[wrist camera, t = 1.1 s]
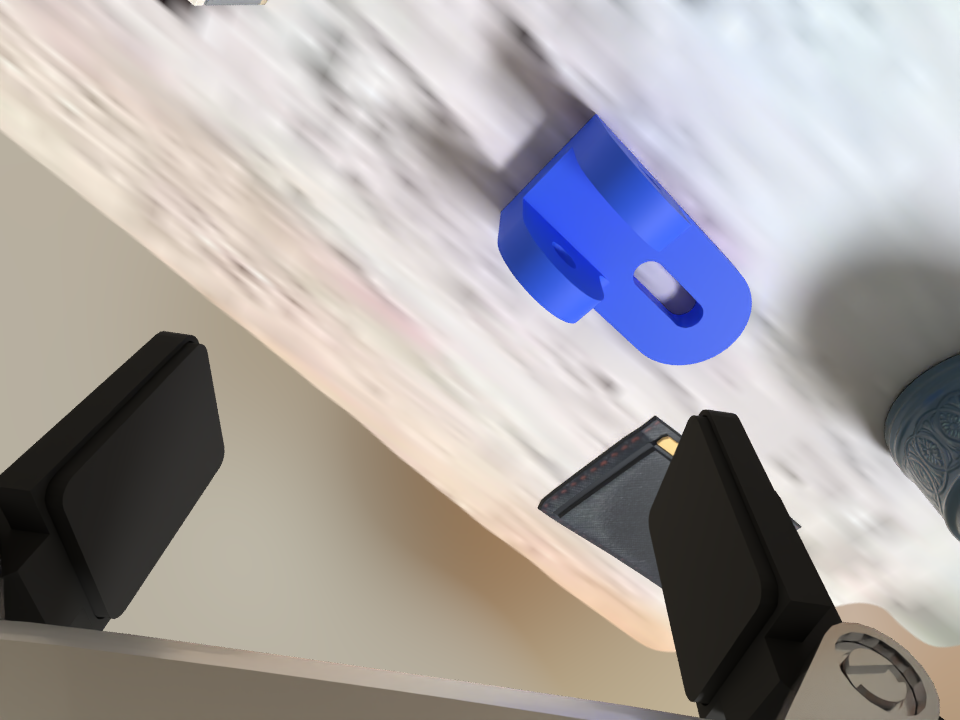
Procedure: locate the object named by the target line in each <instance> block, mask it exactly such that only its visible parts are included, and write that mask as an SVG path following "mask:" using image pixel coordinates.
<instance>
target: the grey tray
mask: <svg viewBox="0 0 960 720" xmlns="http://www.w3.org/2000/svg"><path fill="white" fill-rule="evenodd" d="M266 2H267V0H205V2H204V4H205V5H265V4H266Z"/></svg>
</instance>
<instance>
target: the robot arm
mask: <svg viewBox="0 0 960 720" xmlns="http://www.w3.org/2000/svg"><path fill="white" fill-rule="evenodd" d="M223 458H224V443H223V437H222V432H221V427H220V421H219V415H218V409H217V403H216V398H215V393H214V386H213V381H212V375H211V370H210V364H209V358H208V353H207V349H206V347H205V346H204V345H202V344H199V342H198V340H197V338H196V337H195V336H193V335H187V334H180V333H173V332H166V331H163V332H159V333H158V334H156V335H155V336H154V337H153V338H152V339H151V340H150V341H149V342H147V343H146V344H145V345H144V346H143V347H142V348H141V349H140V350H138V351H137V352H136V353H135V354H134V355H133V356H132V357H131V358H130V359H128V360H127V361H126V362H125V363H124V364H123V365H122V366H121V367H120V368H118V369H117V370H116V371H115V372H114V373H113V374H112V375H111V376H110V377H109V378H107V379H106V380H105V381H104V382H103V383H102V384H101V385H100V386H98V387H97V388H96V389H95V390H94V391H93V392H92V393H91V394H90V395H89V396H87V397H86V398H85V399H84V400H83V401H82V402H81V403H80V404H78V405H77V406H76V407H75V408H74V409H73V410H72V411H71V412H70V413H69V414H68V415H66V416H65V417H64V418H63V419H62V420H61V421H60V422H58V423H57V424H56V425H55V426H54V427H53V428H52V429H51V430H50V431H48V432H47V433H46V434H45V435H44V436H43V437H42V438H41V439H40V440H38V441H37V442H36V443H35V444H34V445H33V446H32V447H31V448H30V449H28V450H27V451H26V452H25V453H24V454H23V455H22V456H21V457H20V458H18V459H17V460H16V461H15V462H14V463H13V464H12V465H11V466H10V467H9V468H7V469H6V470H5V471H4V472H3V473H2V474H1V475H0V720H944V719H943V718H941V717H940V716H939V713H940V709H939V707H940V704H939V697H938V694H937V692H936V689H935V686H934V684H933V682H932V680H931V679H930V677H929V676H928V674H927V673H926V671H925V670H924V668H923V667H922V665H920V663H918V661H917V660H916V659H915V658H914V657H913V656H912V655H911V654H910V653H909V652H908V651H907V650H906V649H905V648H903V647H902V646H901V645H899V644H898V643H897V642H896V641H894V640H893V639H892V638H890V637H888V636H886V635H885V634H883V633H881V632H879V631H877V630H876V629H874V628H871V627H868V626H864V625H861V624H858V623H846V622H843V623H842V621H841V619H840V617H839V615H838V613H837V611H836V609H835V607H834V605H833V603H832V601H831V599H830V597H829V595H828V592H827V590H826V588H825V586H824V584H823V582H822V580H821V578H820V576H819V574H818V572H817V570H816V568H815V566H814V564H813V562H812V560H811V558H810V556H809V554H808V552H807V550H806V548H805V546H804V544H803V542H802V540H801V538H800V536H799V534H798V532H797V530H796V528H795V526H794V524H793V522H792V520H791V518H790V516H789V514H788V512H787V510H786V508H785V506H784V504H783V502H782V500H781V498H780V497H779V495H778V494H777V492H776V491H774V489H773V486H772V484H771V482H770V480H769V478H768V476H767V474H766V472H765V470H764V468H763V466H762V464H761V462H760V460H759V458H758V456H757V454H756V452H755V450H754V448H753V446H752V444H751V442H750V440H749V438H748V436H747V434H746V432H745V430H744V428H743V426H742V424H741V422H740V420H739V418H738V416H737V415H736V414H733V413H727V412H720V411H713V410H702V411H701V412H700V414H699V416H695V415H693V416H691V417H690V418H689V420H688V422H687V424H686V427H685V429H684V432H683V434H682V436H681V439H680V441H679V443H678V446H677V448H676V450H675V453H674V455H673V457H672V460H671V462H670V464H669V467H668V469H667V472H666V474H665V476H664V479H663V481H662V483H661V486H660V488H659V490H658V493H657V495H656V497H655V500H654V502H653V504H652V507H651V509H650V513H649V520H648V523H649V531H650V536H651V540H652V545H653V549H654V554H655V558H656V563H657V567H658V572H659V576H660V581H661V585H662V590H663V594H664V599H665V603H666V608H667V612H668V617H669V621H670V626H671V631H672V635H673V640H674V644H675V649H676V653H677V657H678V662H679V667H680V671H681V676H682V680H683V685H684V688H685V693H686V695H687V697H688V699H689V700H690V701H691V702H696V704H697V708H698V712H699V716H700V718H698V717H692V716H686V715H680V714H674V713H668V712H662V711H656V710H650V709H643V708H637V707H632V706H625V705H619V704H613V703H606V702H600V701H593V700H585V699H579V698H573V697H566V696H559V695H552V694H545V693H538V692H532V691H525V690H519V689H512V688H505V687H498V686H492V685H485V684H478V683H472V682H464V681H458V680H451V679H444V678H437V677H430V676H423V675H416V674H409V673H402V672H395V671H388V670H381V669H375V668H367V667H360V666H353V665H346V664H339V663H332V662H325V661H318V660H311V659H304V658H297V657H290V656H283V655H276V654H269V653H262V652H254V651H247V650H240V649H232V648H225V647H218V646H210V645H203V644H196V643H189V642H182V641H174V640H167V639H160V638H153V637H145V636H138V635H131V634H123V633H115V632H106V631H103V629H104V628H105V626H106V625H107V623H108V622H109V620H110V619H111V618H112V619H115V618H118V617H119V616H120V615H121V614H122V613H123V612H124V611H125V610H126V608H127V606H128V605H129V604H130V602H131V601H132V599H133V598H134V596H135V595H136V593H137V591H138V590H139V588H140V587H141V586H142V584H143V583H144V581H145V579H146V578H147V576H148V574H149V573H150V572H151V570H152V569H153V567H154V566H155V564H156V563H157V561H158V560H159V558H160V557H161V555H162V554H163V552H164V551H165V549H166V548H167V546H168V545H169V543H170V542H171V540H172V538H173V537H174V536H175V534H176V533H177V531H178V530H179V528H180V527H181V525H182V524H183V522H184V521H185V519H186V517H187V516H188V515H189V513H190V511H191V510H192V509H193V507H194V505H195V504H196V502H197V501H198V499H199V498H200V496H201V495H202V493H203V492H204V490H205V489H206V487H207V486H208V484H209V483H210V481H211V480H212V478H213V477H214V475H215V473H216V472H217V471H218V469H219V468H220V466H221V464H222V461H223Z"/></svg>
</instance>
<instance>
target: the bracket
mask: <svg viewBox="0 0 960 720" xmlns="http://www.w3.org/2000/svg"><path fill="white" fill-rule="evenodd" d="M498 247H499V251H500V253H501V255H502V257H503V259H504V261H505V263H506V265H507V266H508V268H509V269H510V271H511V272H512V274H513V275H514V276H515V278H516V279H517V280H518V281H519V283H520V284H521V285H522V286H523V287H524V289H525V290H526V291H527V292H528V293H529V294H530V295H531V296H532V297H533V298H534V299H535V300H536V301H537V302H538V303H539V304H540V305H541V306H543V307H544V308H545V309H546V310H547V311H549V312H550V313H551V314H553V315H554V316H556V317H557V318H559V319H561V320H563V321H565V322H568V323H576V322H577V321H578V320H579V319H581V318H582V317H583V316H584V315H585V314H587V313H588V312H589V311H590V310H591V309H593V308H594V309H595V310H596V311H597V312H598V313H599V314H600V315H601V316H602V317H603V318H604V319H605V320H607V321H608V322H609V323H610V324H611V325H612V326H613V327H614V328H615V329H616V330H617V331H618V332H619V333H621V334H622V335H623V336H624V337H625V338H626V339H627V340H628V341H629V342H630V343H631V344H632V345H633V346H635V347H636V348H637V349H638V350H639V351H640V352H641V353H642V354H644V355H645V356H647V357H648V358H650V359H652V360H654V361H657V362H660V363H664V364H670V365H688V364H694V363H698V362H702V361H705V360H707V359H710V358H712V357H714V356H716V355H718V354H719V353H721V352H722V351H724V350H725V349H727V348H728V347H729V346H730V345H731V344H732V343H733V342H734V341H735V340H736V339H737V338H738V337H739V336H740V334H741V333H742V331H743V330H744V328H745V326H746V325H747V322H748V320H749V317H750V313H751V307H752V300H751V293H750V289H749V287H748V284H747V283H746V281H745V279H744V278H743V277H742V275H741V274H740V273H739V272H738V270H737V269H736V268H735V267H734V265H733V264H732V263H731V262H730V261H729V260H728V258H727V257H726V256H725V255H724V254H723V253H722V252H721V251H720V250H719V249H718V247H717V246H716V245H715V244H714V243H713V242H712V241H711V240H710V239H709V238H708V236H707V235H706V234H705V233H704V232H703V231H702V230H701V229H700V228H699V227H698V225H697V224H696V223H695V222H694V221H693V220H692V219H691V218H690V217H689V216H688V214H687V213H686V212H685V211H684V210H683V209H682V208H681V207H680V206H679V205H678V203H677V202H676V201H675V200H674V199H673V198H672V197H671V196H670V195H669V194H668V192H667V191H666V190H665V189H664V188H663V187H662V186H661V185H660V184H659V183H658V181H657V180H656V179H655V178H654V177H653V176H652V175H651V174H650V173H649V172H648V170H647V169H646V168H645V167H644V166H643V165H642V164H641V163H640V162H639V161H638V159H637V158H636V157H635V156H634V155H633V154H632V153H631V152H630V151H629V150H628V148H627V147H626V146H625V145H624V144H623V143H622V142H621V141H620V140H619V139H618V137H617V136H616V135H615V134H614V133H613V132H612V131H611V130H610V129H609V128H608V126H607V125H606V124H605V123H604V122H603V121H602V120H601V119H600V118H599V117H598V115H597V114H595V115H594V116H593V117H592V118H591V119H590V120H589V121H588V122H587V123H586V124H585V125H584V126H583V127H582V129H581V130H580V131H579V132H578V133H577V134H576V135H575V136H574V137H573V138H572V139H571V140H570V141H569V142H568V143H567V144H566V145H565V146H564V147H563V148H562V149H561V150H560V151H559V152H558V153H557V154H556V155H555V156H554V157H553V159H552V160H551V161H550V162H549V163H548V164H547V165H546V166H545V167H544V168H543V169H542V170H541V171H540V172H539V173H538V174H537V175H536V176H535V177H534V178H533V179H532V180H531V181H530V182H529V183H528V184H527V185H526V186H525V188H524V189H523V190H522V191H521V192H520V193H519V194H518V195H517V196H516V197H515V198H514V199H513V200H512V201H511V202H510V203H509V204H508V205H507V206H506V207H505V208H504V209H503V210H502V211H501V216H500V225H499V234H498ZM647 261H655V262H658V263H660V264H661V265H662V266H663V267H664V268H665V269H666V270H667V271H668V272H669V273H670V274H671V275H672V276H673V277H674V278H675V279H676V280H677V281H678V282H679V283H680V284H681V285H682V286H683V287H684V288H685V290H686V291H687V292H688V293H689V294H690V295H691V296H692V297H693V298H694V299H695V300H696V304H695V306H694V307H693V309H692V310H691V311H689V312H688V313H685V314H682V315H676V314H673V313H671V312H670V311H669V310H668V309H666V308H665V307H664V306H663V305H662V304H661V303H660V302H659V301H658V300H657V299H656V298H655V297H654V296H653V295H652V294H651V293H650V292H649V291H648V290H647V289H646V288H645V287H644V286H643V285H642V284H641V283H640V282H639V281H638V280H637V279H636V278H635V277H634V276H633V274H634V271H635V269H636V268H637V267H638V266H639V265H640V264H642V263H644V262H647Z"/></svg>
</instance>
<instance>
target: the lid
mask: <svg viewBox="0 0 960 720" xmlns="http://www.w3.org/2000/svg"><path fill="white" fill-rule="evenodd" d="M188 1H190V2H191V3H192V4H193V5H194V6H198V5H203V4H204V2H205V0H188Z"/></svg>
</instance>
